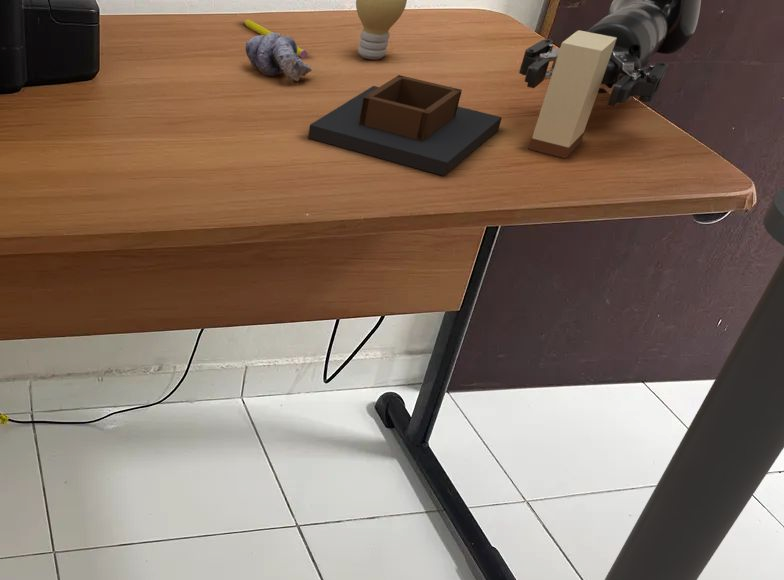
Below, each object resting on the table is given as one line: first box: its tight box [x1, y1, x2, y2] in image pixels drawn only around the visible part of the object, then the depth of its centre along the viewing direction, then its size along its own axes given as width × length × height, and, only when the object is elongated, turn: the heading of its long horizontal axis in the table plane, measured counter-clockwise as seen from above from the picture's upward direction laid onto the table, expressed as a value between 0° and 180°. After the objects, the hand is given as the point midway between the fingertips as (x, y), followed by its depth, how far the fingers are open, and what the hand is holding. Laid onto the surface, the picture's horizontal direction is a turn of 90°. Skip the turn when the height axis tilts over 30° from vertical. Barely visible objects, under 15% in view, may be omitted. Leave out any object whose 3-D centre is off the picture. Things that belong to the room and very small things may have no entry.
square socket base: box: [307, 74, 503, 177], centre depth 100 cm, size 16×16×4 cm
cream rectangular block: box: [527, 29, 617, 159], centre depth 96 cm, size 4×6×11 cm
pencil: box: [243, 19, 308, 59], centre depth 125 cm, size 16×1×1 cm, turn 25°
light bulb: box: [355, 0, 407, 60], centre depth 118 cm, size 6×6×10 cm
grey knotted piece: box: [245, 31, 313, 82], centre depth 113 cm, size 5×5×10 cm
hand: (572, 87), depth 94 cm, fingers open, 8 cm apart
